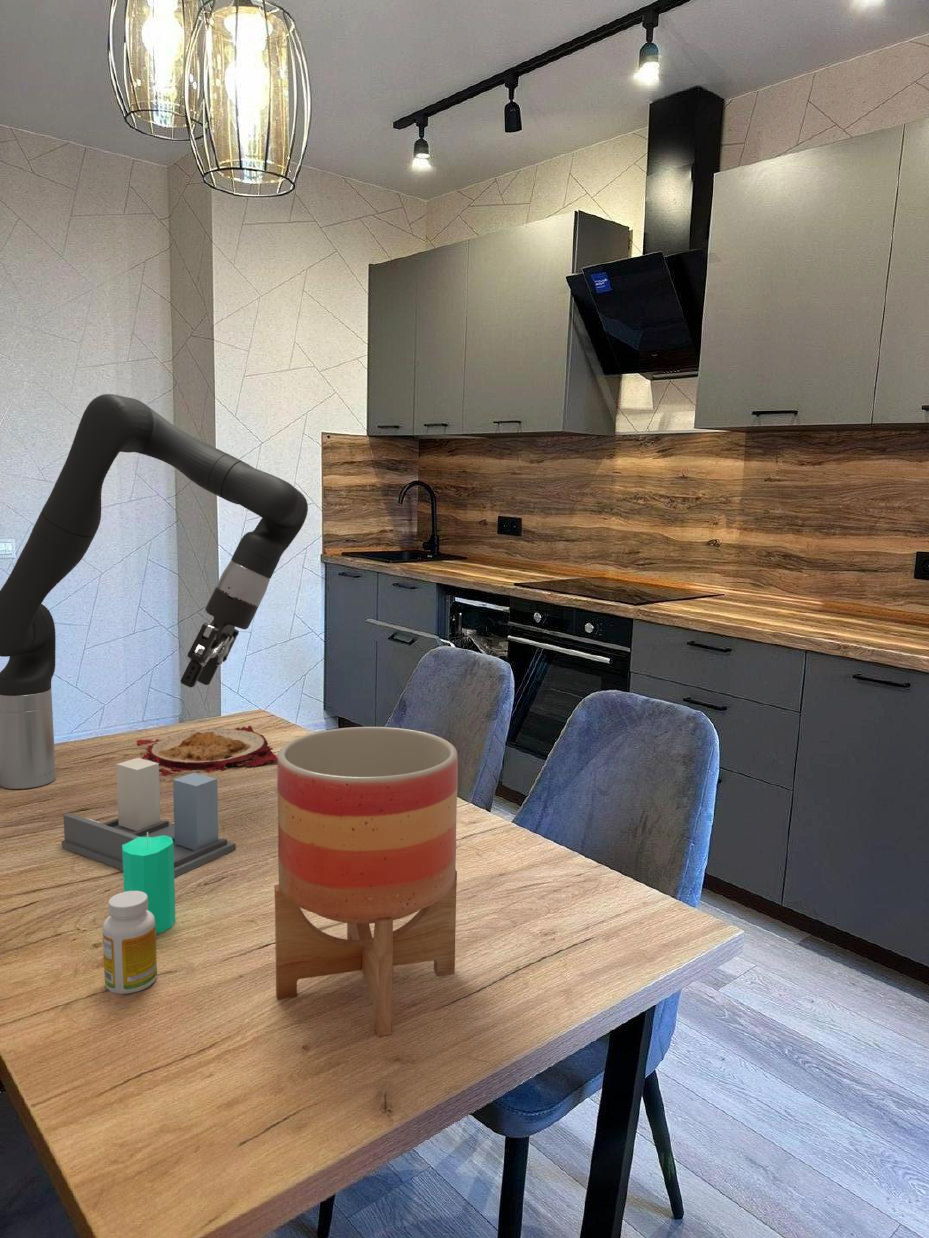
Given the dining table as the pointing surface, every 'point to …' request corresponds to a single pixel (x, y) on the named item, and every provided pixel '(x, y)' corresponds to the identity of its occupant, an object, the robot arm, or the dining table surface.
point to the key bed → (110, 837)
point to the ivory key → (138, 794)
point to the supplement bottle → (129, 943)
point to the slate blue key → (195, 811)
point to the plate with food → (209, 750)
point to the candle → (152, 876)
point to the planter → (366, 856)
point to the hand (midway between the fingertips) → (194, 684)
